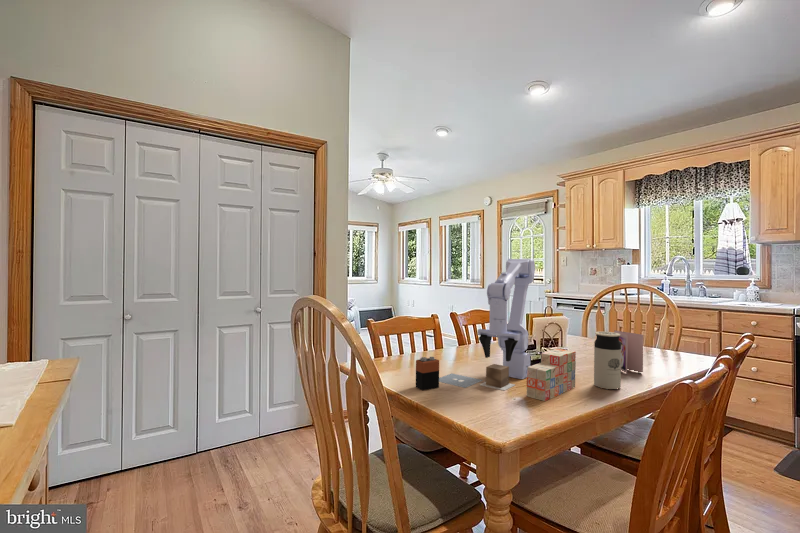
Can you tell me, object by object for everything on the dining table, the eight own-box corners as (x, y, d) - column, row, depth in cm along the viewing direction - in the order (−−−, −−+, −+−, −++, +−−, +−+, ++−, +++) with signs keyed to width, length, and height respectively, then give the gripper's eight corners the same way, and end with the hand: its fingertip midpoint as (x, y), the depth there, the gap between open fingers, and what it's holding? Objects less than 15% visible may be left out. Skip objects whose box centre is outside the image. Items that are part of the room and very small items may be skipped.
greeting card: (611, 367, 161) (612, 330, 161) (631, 368, 160) (631, 330, 160) (624, 375, 150) (625, 335, 150) (645, 376, 149) (646, 335, 149)
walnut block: (508, 384, 136) (508, 366, 135) (501, 388, 131) (501, 369, 131) (493, 381, 139) (493, 363, 139) (485, 384, 135) (486, 366, 135)
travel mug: (590, 382, 140) (591, 330, 140) (615, 383, 139) (615, 331, 139) (598, 389, 132) (599, 334, 132) (624, 390, 131) (625, 335, 131)
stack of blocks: (545, 402, 120) (545, 360, 120) (526, 396, 124) (526, 357, 124) (575, 387, 134) (576, 350, 134) (557, 383, 139) (557, 347, 139)
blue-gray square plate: (483, 380, 141) (483, 380, 141) (465, 388, 132) (465, 387, 132) (451, 373, 149) (451, 373, 149) (432, 380, 140) (432, 380, 140)
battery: (415, 387, 132) (415, 357, 132) (431, 384, 136) (432, 354, 136) (422, 391, 128) (422, 359, 128) (439, 387, 132) (439, 357, 132)
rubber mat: (515, 385, 135) (515, 384, 135) (504, 391, 129) (504, 390, 129) (491, 380, 141) (491, 379, 141) (479, 385, 135) (479, 384, 135)
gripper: (473, 317, 137) (472, 357, 137) (513, 321, 127) (512, 364, 128) (483, 315, 142) (482, 354, 142) (522, 319, 133) (522, 360, 133)
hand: (497, 359), depth 135 cm, fingers open, 7 cm apart
